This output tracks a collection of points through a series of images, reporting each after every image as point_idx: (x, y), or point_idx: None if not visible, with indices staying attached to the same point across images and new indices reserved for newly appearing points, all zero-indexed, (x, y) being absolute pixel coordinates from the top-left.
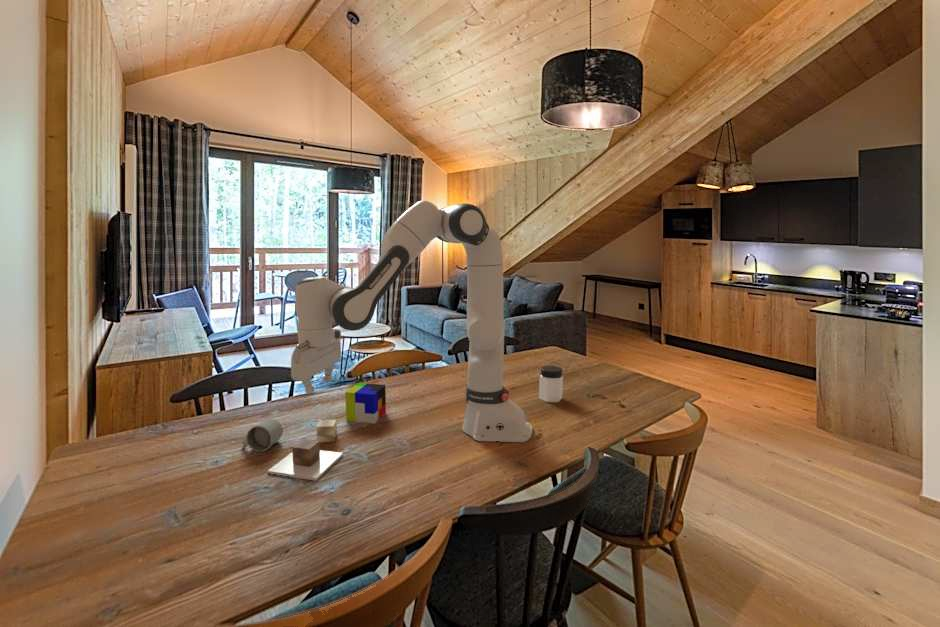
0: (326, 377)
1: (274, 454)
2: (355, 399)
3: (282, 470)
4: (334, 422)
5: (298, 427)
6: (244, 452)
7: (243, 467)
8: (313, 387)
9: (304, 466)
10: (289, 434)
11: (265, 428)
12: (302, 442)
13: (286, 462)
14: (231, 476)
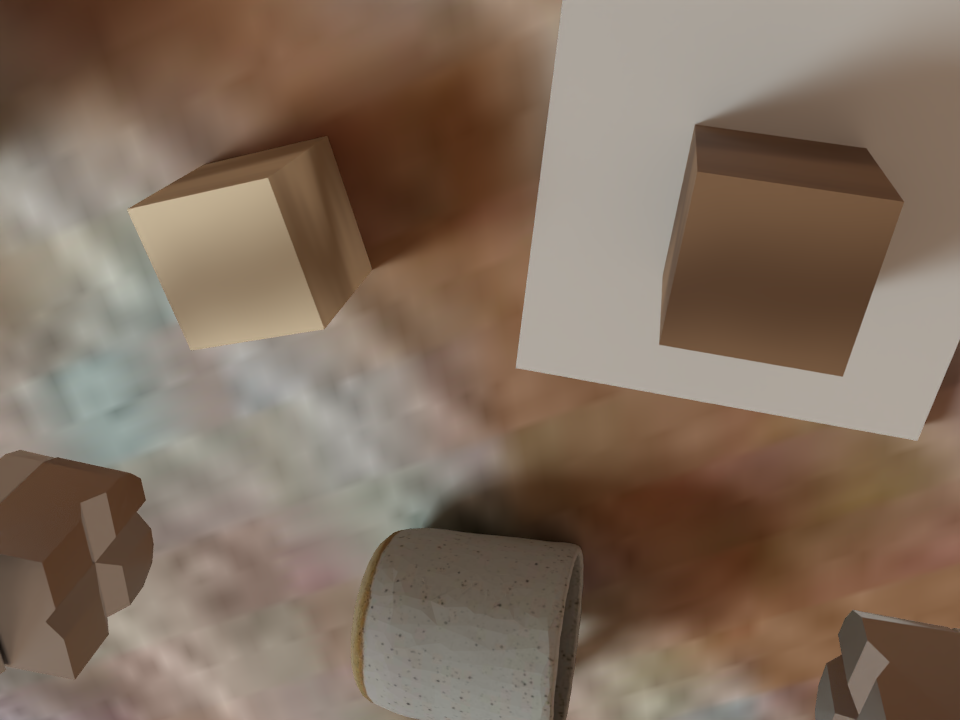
0: (72, 587)
1: (609, 483)
2: None
3: (920, 342)
4: (190, 202)
5: (191, 474)
6: (601, 646)
7: (808, 591)
8: (923, 700)
9: None
10: (305, 493)
11: (551, 671)
12: (737, 322)
13: None
14: (934, 613)
